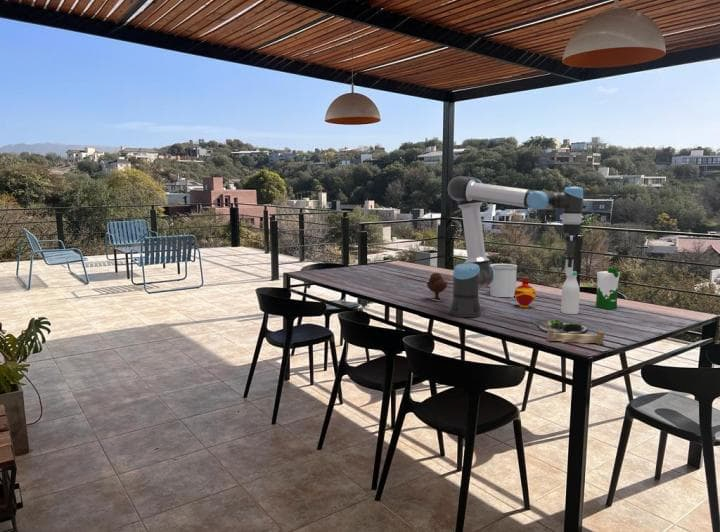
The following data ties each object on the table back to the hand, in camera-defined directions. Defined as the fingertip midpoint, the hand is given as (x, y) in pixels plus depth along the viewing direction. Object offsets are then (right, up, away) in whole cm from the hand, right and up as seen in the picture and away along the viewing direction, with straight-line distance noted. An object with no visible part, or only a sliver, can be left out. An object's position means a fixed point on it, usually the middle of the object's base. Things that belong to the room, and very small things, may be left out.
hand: (568, 273), depth 216 cm
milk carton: (+33, -18, +35) cm, 51 cm away
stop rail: (-10, -25, -29) cm, 40 cm away
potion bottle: (-7, -18, +36) cm, 41 cm away
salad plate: (-7, -24, -12) cm, 27 cm away
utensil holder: (-10, -14, +66) cm, 69 cm away
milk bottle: (+9, -20, +22) cm, 31 cm away
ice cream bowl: (-49, -16, +52) cm, 73 cm away
